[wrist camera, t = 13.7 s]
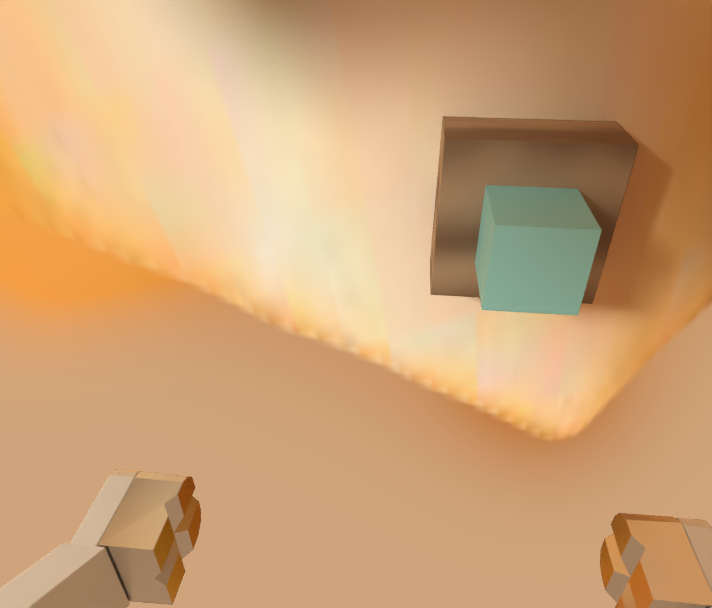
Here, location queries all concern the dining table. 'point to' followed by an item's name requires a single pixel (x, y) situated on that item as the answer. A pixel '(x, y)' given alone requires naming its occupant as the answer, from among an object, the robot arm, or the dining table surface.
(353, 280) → the dining table surface
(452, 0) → the dining table surface
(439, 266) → the walnut base
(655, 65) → the dining table surface
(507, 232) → the teal cube
